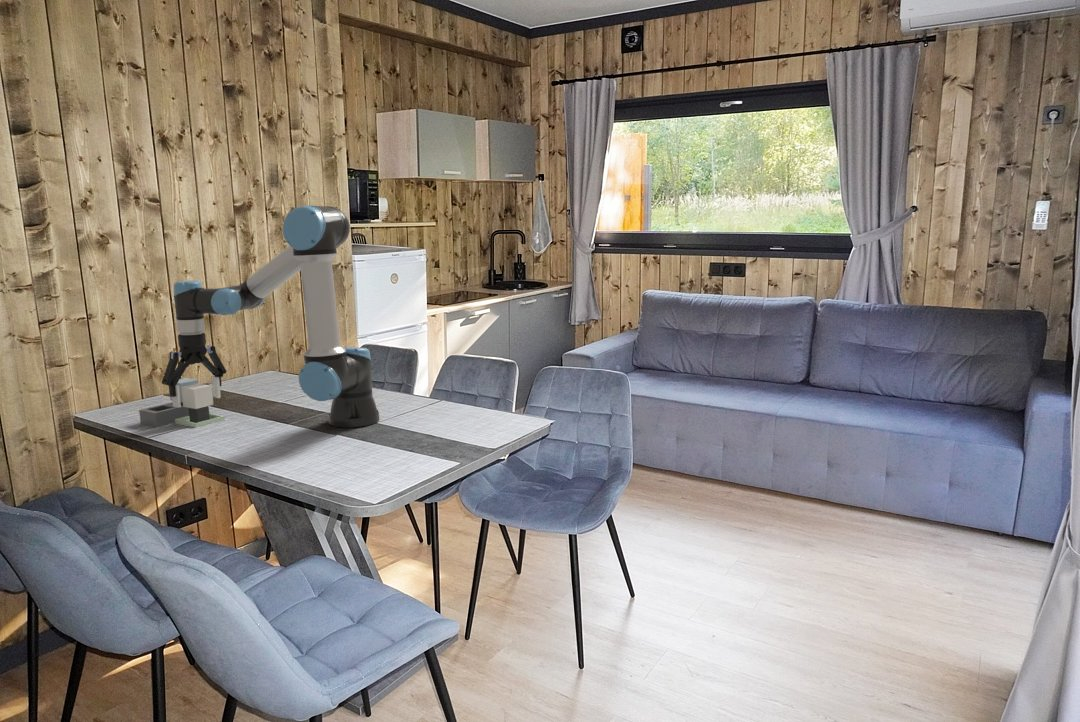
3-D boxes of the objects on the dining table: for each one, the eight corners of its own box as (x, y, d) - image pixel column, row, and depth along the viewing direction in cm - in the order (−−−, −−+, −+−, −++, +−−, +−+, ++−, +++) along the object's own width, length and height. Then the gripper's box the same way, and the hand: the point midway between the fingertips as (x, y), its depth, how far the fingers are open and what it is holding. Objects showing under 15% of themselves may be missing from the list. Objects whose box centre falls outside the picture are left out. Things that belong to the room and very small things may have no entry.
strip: (218, 413, 243) (214, 376, 240) (157, 429, 225) (152, 390, 223) (202, 410, 247) (198, 374, 244) (140, 426, 229) (136, 387, 227)
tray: (224, 421, 233) (224, 416, 232) (196, 429, 224) (195, 423, 224) (204, 417, 238) (203, 412, 237) (175, 425, 229) (174, 419, 229)
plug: (214, 420, 232) (211, 385, 230) (197, 425, 227) (194, 389, 225) (202, 418, 235) (199, 383, 233) (184, 422, 230) (181, 387, 228)
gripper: (219, 326, 238) (224, 392, 242) (144, 337, 217) (151, 409, 221) (235, 328, 234) (240, 395, 238) (160, 339, 213) (167, 412, 217)
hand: (197, 402), depth 230 cm, fingers open, 13 cm apart
